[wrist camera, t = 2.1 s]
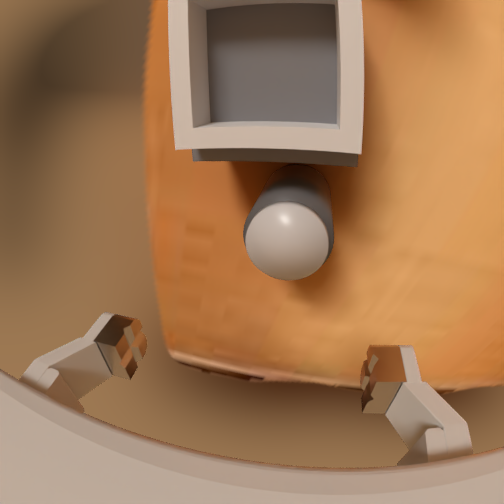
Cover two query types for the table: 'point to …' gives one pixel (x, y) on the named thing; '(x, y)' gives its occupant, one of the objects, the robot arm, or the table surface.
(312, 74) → the camera body
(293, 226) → the lens
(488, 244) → the table surface
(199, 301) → the table surface
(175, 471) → the robot arm
